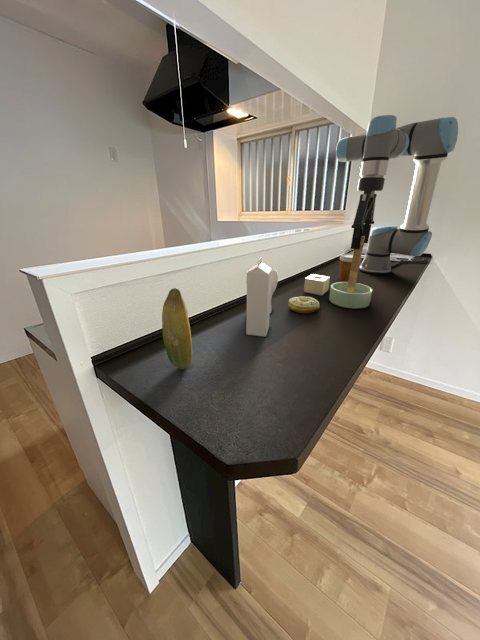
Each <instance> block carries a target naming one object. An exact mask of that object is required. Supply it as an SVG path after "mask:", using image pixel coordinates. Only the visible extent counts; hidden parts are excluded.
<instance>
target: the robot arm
mask: <svg viewBox="0 0 480 640" xmlns="http://www.w3.org/2000/svg"><path fill="white" fill-rule="evenodd" d="M397 119H398V118H397V116H396V115H395V114H394V115H393V114H384V115H383V114H382V115H378V116H374V117H372V118H371V119H369V122H368V124H367V129H366V133H365V134H359V135H354V136H353V135H352V136H346V137H343V138H341V139H339V141H338V142H337V144H336V147H335V157H336V160H337V161H338V162H339V163H348V162H358V161H361V165H359V167H358V169H359V170H360V173H359V177H361V178H359V179H358V183H357V188H356V189H357V191H358V192H363V193H361V194H360V195H359V201H358V205H357V209H356V212H355V215H354V219H353V224H351V229H353V230H352V231H353V232H352V237H351V244H350V249H351V250H354V249H360V244H361V239H362V236H365V240H364V244H367V246H366V247H367V248H366V253H365V256H364V258H363V259H362V260H361V261H362V262H360V266H359V271H360V272H362V273H366V274H370V275H388V274H390V273H391V270H392V268H393V267H396V266H397V265H399V264H408V263H411V264H412V263H416V264H418V263H419V264H420V263H424V262H425V260H426V259H425V258H424V257H423V258H422V260H404V261H397V262H396V263H395V264H392V265H391V255H392V254H394V255H403V256H407V257H420V256H422V255H423V254H424V252H425V251H426V250H427V248H428V247H429V244H430V242H431V240H432V236H433V232H432V231H430V226H429V225H428V223H427V222H428V217H429V213H430V209H431V205H432V202H433V197H434V192H435V189H436V185H437V180H438V177H439V172H440V169H441V165H442V162H443V161H444V160H446V159H447V158H448V154H449V153H451V152H454V150H455V147H456V145H457V141H458V135H459V123H458V119H457V118H456V117H454V116H447V117H440V118H435V119H434V118H433V119H429V120H423V121H418V122H417V121H416V122H411V123H407V124H405V125H402V126H399V127H397V121H398V120H397ZM410 156H413V162H414V164H415V170H414V175H413V180H412V185H411V190H410V195H409V200H408V204H407V209H406V215H405V219H404V223H402V224H401V225H400V226H399V228H398V225H383V226H374V227H373V228H372V225H374V224H375V220H374V216H375V207H376V200H377V193H376V192H381V191H383V190H384V186H385V181H386V178H385V177H384V176H386V175H387V172H388V168H389V166H388V165H389V161H390V160H391V159H397V158H399V157H410Z"/></svg>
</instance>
